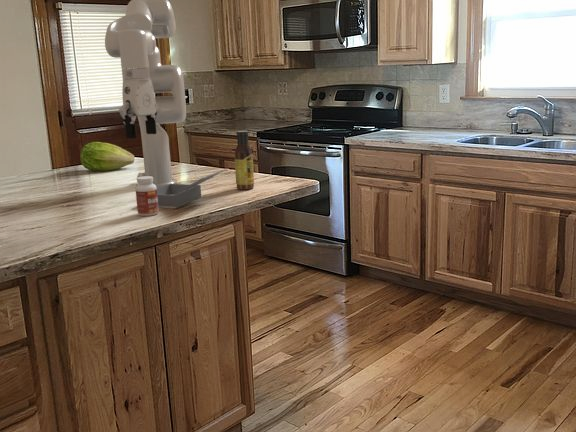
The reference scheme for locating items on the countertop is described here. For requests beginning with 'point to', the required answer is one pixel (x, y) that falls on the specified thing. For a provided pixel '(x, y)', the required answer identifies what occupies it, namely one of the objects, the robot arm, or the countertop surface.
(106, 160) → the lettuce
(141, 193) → the pill bottle
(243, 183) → the sauce bottle
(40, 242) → the countertop surface
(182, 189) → the lid
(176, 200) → the box
